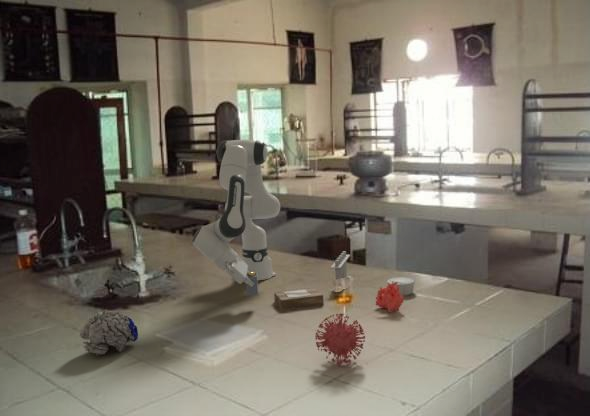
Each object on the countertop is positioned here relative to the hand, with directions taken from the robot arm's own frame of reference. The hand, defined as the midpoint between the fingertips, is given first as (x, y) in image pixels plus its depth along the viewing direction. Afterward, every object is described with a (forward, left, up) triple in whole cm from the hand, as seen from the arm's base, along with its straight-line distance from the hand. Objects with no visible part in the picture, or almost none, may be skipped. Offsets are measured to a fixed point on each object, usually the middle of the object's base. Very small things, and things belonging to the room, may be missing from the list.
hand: (253, 282), depth 246 cm
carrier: (0, -1, -4) cm, 4 cm away
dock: (+1, +18, -10) cm, 21 cm away
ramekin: (+4, +61, -11) cm, 62 cm away
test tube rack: (-18, +43, -11) cm, 48 cm away
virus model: (+65, +12, -11) cm, 67 cm away
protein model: (+23, +47, -11) cm, 54 cm away
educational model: (+26, -55, -11) cm, 62 cm away
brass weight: (0, -1, +3) cm, 3 cm away
